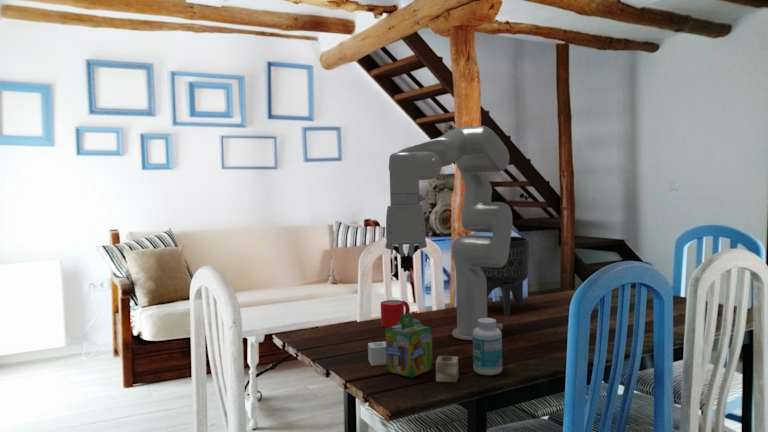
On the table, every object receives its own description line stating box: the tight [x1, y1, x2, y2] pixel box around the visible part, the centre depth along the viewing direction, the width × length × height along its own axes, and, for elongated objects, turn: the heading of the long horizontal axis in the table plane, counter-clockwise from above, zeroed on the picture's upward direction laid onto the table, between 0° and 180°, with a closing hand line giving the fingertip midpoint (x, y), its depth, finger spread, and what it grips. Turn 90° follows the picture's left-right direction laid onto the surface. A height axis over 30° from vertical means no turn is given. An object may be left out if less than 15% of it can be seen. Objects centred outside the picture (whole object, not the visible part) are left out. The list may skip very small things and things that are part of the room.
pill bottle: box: [472, 317, 503, 376], centre depth 154 cm, size 8×7×14 cm
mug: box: [380, 299, 411, 329], centre depth 206 cm, size 8×12×8 cm, turn 135°
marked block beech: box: [435, 355, 460, 383], centre depth 150 cm, size 5×5×5 cm
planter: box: [480, 235, 530, 316], centre depth 220 cm, size 20×20×26 cm
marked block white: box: [367, 341, 387, 367], centre depth 165 cm, size 5×5×5 cm
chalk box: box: [384, 312, 434, 379], centre depth 157 cm, size 9×9×15 cm
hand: (406, 270), depth 155 cm, fingers closed
